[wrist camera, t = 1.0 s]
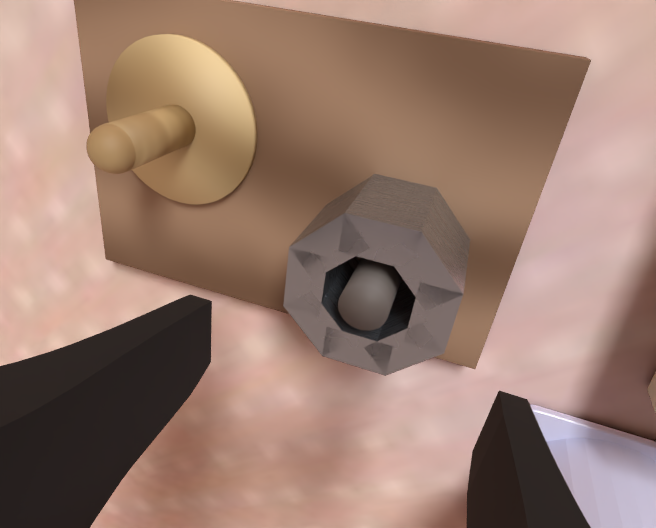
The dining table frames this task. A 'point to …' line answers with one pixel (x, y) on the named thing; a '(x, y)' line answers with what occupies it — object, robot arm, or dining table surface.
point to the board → (310, 142)
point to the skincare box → (652, 391)
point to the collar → (389, 248)
